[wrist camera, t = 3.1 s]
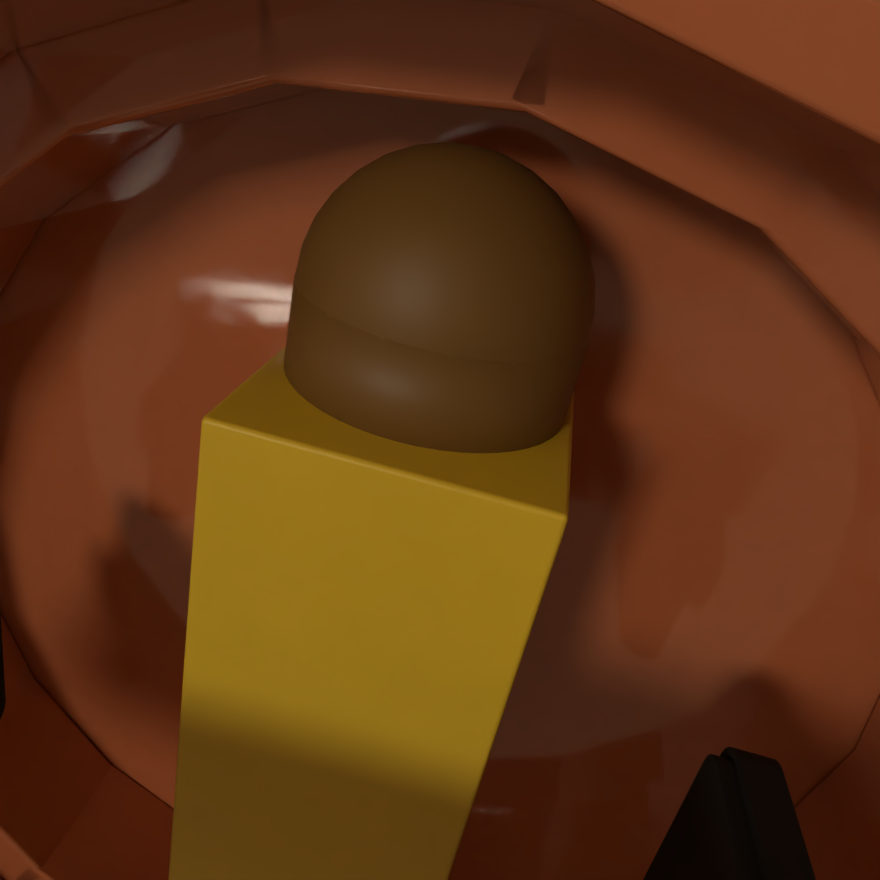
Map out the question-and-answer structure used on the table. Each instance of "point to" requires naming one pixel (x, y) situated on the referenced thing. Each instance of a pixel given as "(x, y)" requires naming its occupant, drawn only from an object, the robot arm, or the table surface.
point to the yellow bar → (380, 525)
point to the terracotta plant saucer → (594, 410)
